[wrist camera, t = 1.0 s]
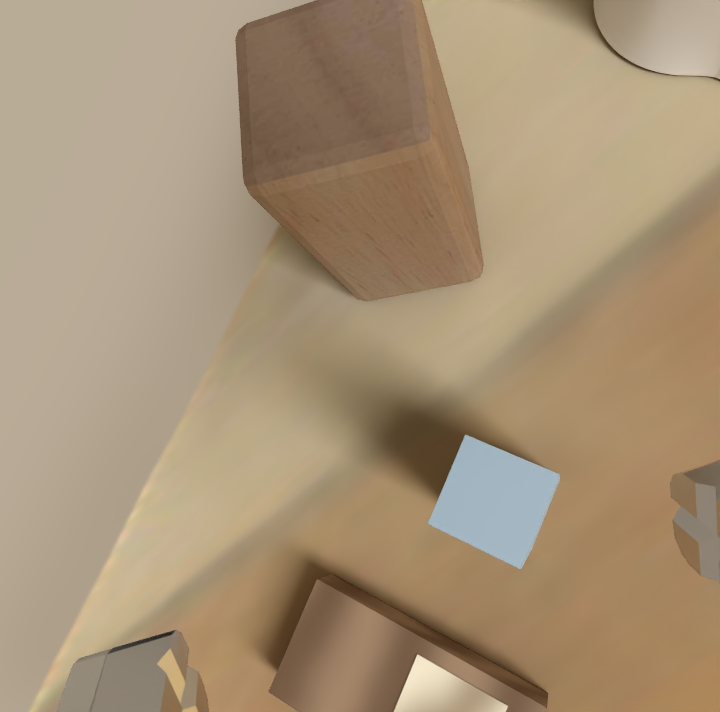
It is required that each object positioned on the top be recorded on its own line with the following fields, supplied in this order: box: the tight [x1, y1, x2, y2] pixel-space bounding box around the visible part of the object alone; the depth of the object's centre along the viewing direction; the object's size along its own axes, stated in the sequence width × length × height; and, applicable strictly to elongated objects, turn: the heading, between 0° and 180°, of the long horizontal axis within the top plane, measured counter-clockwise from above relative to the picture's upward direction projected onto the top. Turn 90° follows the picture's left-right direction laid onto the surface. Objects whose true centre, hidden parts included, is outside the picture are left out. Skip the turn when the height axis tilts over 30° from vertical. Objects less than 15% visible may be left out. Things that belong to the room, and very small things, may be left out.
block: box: [236, 0, 484, 301], centre depth 40 cm, size 10×10×20 cm
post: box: [428, 435, 560, 569], centre depth 38 cm, size 5×5×12 cm
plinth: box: [269, 574, 548, 712], centre depth 41 cm, size 16×8×3 cm, turn 65°
